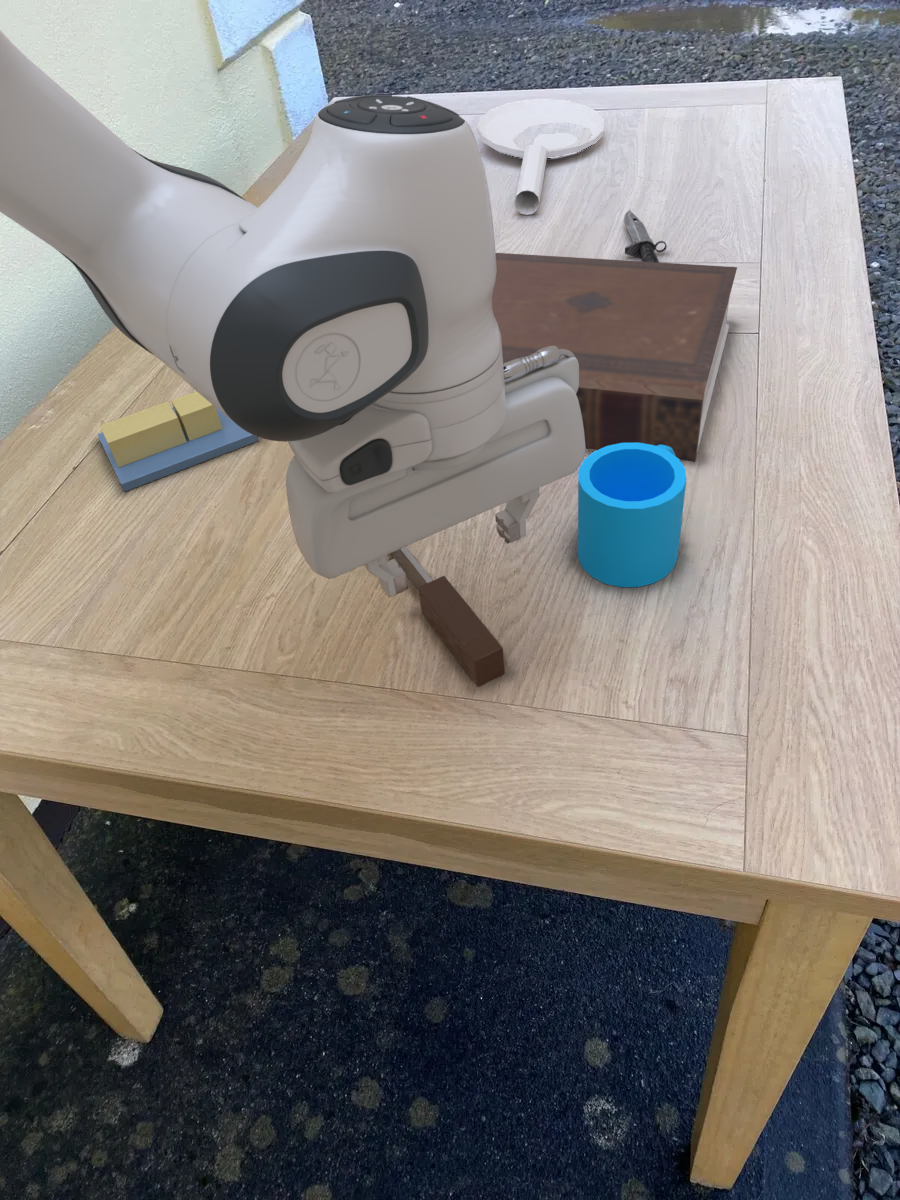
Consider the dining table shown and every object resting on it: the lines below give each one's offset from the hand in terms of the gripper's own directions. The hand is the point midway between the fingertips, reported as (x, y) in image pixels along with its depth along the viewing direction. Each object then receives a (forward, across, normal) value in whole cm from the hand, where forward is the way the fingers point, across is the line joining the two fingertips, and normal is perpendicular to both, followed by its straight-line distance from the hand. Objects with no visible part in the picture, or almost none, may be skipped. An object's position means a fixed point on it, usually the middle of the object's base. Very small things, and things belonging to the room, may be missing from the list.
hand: (454, 561), depth 64 cm
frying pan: (+9, -55, -76) cm, 94 cm away
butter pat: (+8, +9, -40) cm, 41 cm away
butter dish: (+8, +11, -40) cm, 43 cm away
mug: (+9, -18, -2) cm, 20 cm away
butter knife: (+9, 0, -6) cm, 10 cm away
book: (+9, -28, -26) cm, 39 cm away
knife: (+9, -50, -44) cm, 67 cm away
